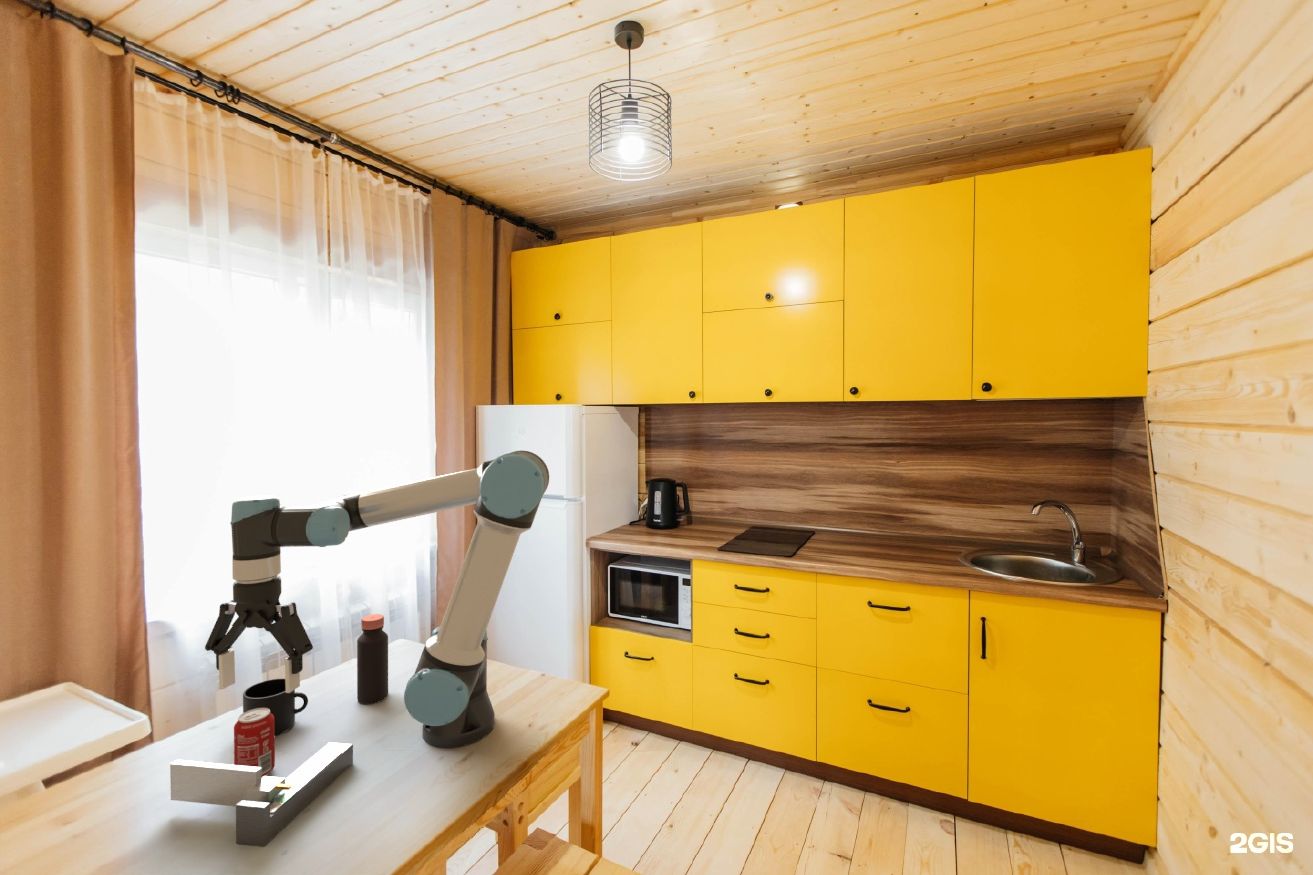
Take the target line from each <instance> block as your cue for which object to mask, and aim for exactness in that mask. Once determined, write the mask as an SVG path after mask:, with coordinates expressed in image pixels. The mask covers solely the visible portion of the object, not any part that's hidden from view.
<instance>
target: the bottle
mask: <svg viewBox="0 0 1313 875" xmlns="http://www.w3.org/2000/svg"><path fill="white" fill-rule="evenodd" d="M360 623H361V631H362V633H361V634H360V636H359V637H358V638H357V640H356V651H357V652H356V657H357V658H356V660H357V662H356V668H357V669H356V672H357V674H356V681H357V682H356V683H357V684H356V685H357V686H356V689H357V691H356V693H357V694H356V696H357V697H356V698H357V702H358V703H360V704H363V705H373V704H377V703H380V702H382V701H384V700H385V699H386V698H387V697H388V696H389V636H388V633H387V632H385V631H384V630H383V629H384V625H385V616H384V615H383V614H380V613H373V614H368V615H365V616H363V617H362V618H361V622H360Z"/></svg>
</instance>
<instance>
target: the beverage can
mask: <svg viewBox="0 0 1313 875" xmlns="http://www.w3.org/2000/svg"><path fill="white" fill-rule="evenodd" d="M275 740H276V739H275V734H274V716H273V714H271V713H270V710H269V709H268V708H256V709H252V710H249V711H247V712H244V713H243V712H242V713H241V714H240V715H239V716H238V717H237V721H236V723H235V724H234V726H233V760H234V762H233V765H240V766H251V767H262V777H263V776H270V775H269V774H270V773H271V772H272V771H273V770H274V768H275V765H276V764H275V763H276V762H275V761H276V759H275V758H276V757H275V756H276V755H275V752H276V750H275V747H276V746H275V745H276V744H275V743H276V742H275Z"/></svg>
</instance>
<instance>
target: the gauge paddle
mask: <svg viewBox="0 0 1313 875" xmlns="http://www.w3.org/2000/svg"><path fill="white" fill-rule="evenodd" d="M169 765H170V766H169V767H170V774H169V775H170V778H169V779H170V801H179V802H188V803H197V804H207V805H218V806H227V807H236V805H237V804H238V803H239V802H240V801H242V800H246V801H257V802H258V801H264V802H269V801H271V800H272V799H273V798H274V797H275V796H277V795H278V794H279V793H280V792H281V791H282V790H290V789H291V788H292V785H287V784H285V779H286V777H278V776H270V775H268V776H263V777H262V767H251V766H240V765H234V764H227V763H215V762H205V761H197V760H195V761H194V760H184V759H176V760H174V761H173V762H171V763H170V764H169Z"/></svg>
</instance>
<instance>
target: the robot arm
mask: <svg viewBox="0 0 1313 875" xmlns="http://www.w3.org/2000/svg"><path fill="white" fill-rule="evenodd" d="M549 484H550V472H549V468H548V466H547V464H546V463H545V461H544V460H543V459H542V458H541V457H540V455H538V454H536V453H534V452H531V451H529V450H515V451H511V452H509V453H505V454H502V455H499V456H497V457H496V458H494V459H491V460H487V461H483V462H482V463H481V465H480V466H479V467H476V468H471V469H466V470H462V471H458V472H457V471H456V472H453V473H448V474H444V475H443V474H442V475H437V476H435V477H429V478H424V479H419V480H416V481H410V482H405V483H401V484H397V485H392V486H388V487H383V488H379V489H378V488H377V489H373V490H369V491H368V490H367V491H364V492H361V493H360V492H359V493H355V494H347V495H346V494H345V495H342V496H337V497H336V498H334V499H331V500H328V501H324V502H321V503H317V504H313V505H310V506H293V507H291V506H290V507H287V506H286V507H285V506H282V505H281V503H280V502H281V501H280V499H279V497H278V496H276V495H255V496H246V497H241V498H237V499H235V500H234V501H233V503H232V505H231V521H230V522H229V523H230V525H231V540H232V541H231V542H232V559H231V560H232V565H231V566H232V579H233V580H234V583H233V584H232V599H231V600H229V601H226V602H223V603H221V604H220V605H219V613H218V617H217V618H216V621H215V624H214V626H213V627H212V628H213V629H212V630H211V632H210V634H209V637H208V639H207V642H205V643H206V644H205V646H204V649H205V651H207V652H208V651H212V652H213V653H214V654H215V660H216V661H215V662H216V666H215V668H216V670H217V671H218V674H219V675H218V678H219V682H218V683H219V684H218V685H219V688H218V689H219V690H225V689H226V688H228V687H230V686H232V685H233V684H235V683H236V671H235V670H236V669H235V667H236V663H235V662H236V661H235V659H236V658H235V649H232V648H233V645H234V643H236V641H237V640H238V638H239V637H240V636H241V635H242V634H243V632H244V631H245V630H246V629H247V628H249V629H250V628H251V629H252V628H257V629H264V630H265V632H268V633H270V635H272V637H273V638H274V639H275V641H276V642H277V643H278V644H279V646H280V647H281V648H282V649H283V651H284V652H285V653H286V654H287V656H288V657H285V658H284V666H285V667H284V668H285V669H284V670H285V671H284V672H285V673H284V675H285V676H284V677H285V678H284V679H285V683H286V693H290V692H292V691H293V690H295V691H296V689H298V688H300V686H301V684H300V683H301V680H300V678H301V676H300V674H301V673H300V672H302V671H303V668H304V667H303V666H304V665H303V655H305V654H307V653H308V652H311V651H312V650H313V649H314V646H313V644H312V642H311V639H310V637H309V636H308V634H307V632H306V628H304V625H303V623H302V620H301V619H300V616H299V615H298V610H297V604H296V602H295V601H292V602H290V603H287V604H281V603H280V597H281V595H282V577H281V576H280V574H281V572H282V569H281V568H282V565H281V563H282V562H281V548H287V547H295V548H296V547H317V548H318V547H319V548H326V547H330V546H331V547H332V546H339V545H342V544H343V543H344V542H345V541H346V539H347V537H348V536H349V533H350V532H352V531H356V530H361V529H365V528H370V527H373V526H377V525H383V524H388V523H393V522H397V521H401V520H407V519H410V518H416V517H420V516H424V515H425V516H426V515H429V514H434V513H439V512H445V511H449V510H452V509H458V508H462V507H467V506H471V505H474V508H473V513H474V515H475V517H476V519H477V523H476V526H475V528H474V532H473V535H472V537H471V541H470V543H469V546H468V548H467V552H466V553H465V556H464V560H463V563H462V564H461V568H460V571H459V573H458V577H457V579H456V582H455V585H454V587H453V591H452V592H451V596H450V599H449V600H448V604H447V607H446V610H445V612H444V615H443V618H442V621H441V624H440V626H437V627H435V628H434V629H433V630H432V632H431V637H429V638H428V639H427V640H426V642H425V644H424V647H423V650H422V653H421V655H420V658H419V661H418V663H417V666H416V667H415V668H416V669H415V671H414V674H413V675H412V676H411V677H410V678H409V680H408V681H407V683H406V687H405V690H404V694H403V702H404V706H405V709H406V710H407V712H409V715H410V716H411V717H412V719H414V720H415V721H417V722H418V723H421V724H422V739H424V741H425V743H427V744H429V745H431V746H435V747H439V748H457V747H462V746H463V747H464V746H468V745H471V744H473V743H474V744H475V743H476V742H478V741H480V740H482V739H484V738H485V737H487V735H490V733H491V732H492V731H493V729H494V727H495V725H496V724H495V720H496V719H495V710H494V707H493V705H492V701H491V699H490V695H489V693H488V689H487V687H488V686H487V685H488V684H487V683H488V681H487V680H488V679H487V677H488V676H487V675H488V673H487V667H488V664H487V663H488V660H487V659H488V640H489V638H488V636H487V635H488V632H487V628H488V625H489V622H490V620H491V617H492V614H493V612H494V609H495V606H496V603H497V601H498V597H499V595H500V592H501V589H502V586H503V584H504V581H505V579H506V576H507V572H508V570H509V567H510V563H511V561H512V559H513V557H514V553H515V550H516V547H517V545H518V542H519V539H520V536H521V535H522V534H523V533H525V532H527V531H529V530H531V528H532V526H533V523H534V521H535V518H536V515H537V512H538V509H539V506H540V504H541V501H542V499H543V495H544V494H545V493H546V491H547V489H548V486H549ZM235 615H237V616H238V617H236V619H235V621H234V622H233V619H234V616H235ZM232 622H233V623H232ZM231 623H232V624H231ZM230 626H231V628H230ZM229 628H230V629H229Z"/></svg>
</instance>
